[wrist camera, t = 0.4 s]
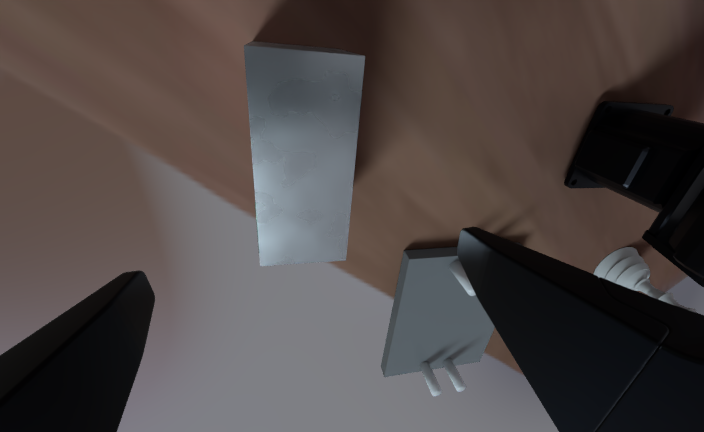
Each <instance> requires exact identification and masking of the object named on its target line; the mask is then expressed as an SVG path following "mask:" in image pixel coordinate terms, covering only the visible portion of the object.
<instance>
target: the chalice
mask: <svg viewBox="0 0 704 432" xmlns="http://www.w3.org/2000/svg"><path fill="white" fill-rule="evenodd" d="M594 275H596V276H598V278H599V277H601V278H604V279H606V280H609V281H611V282H614V283H616V284H619V285H621V286H624V287H627V288H629V289H632V290H635V291H639V290H640V291H642V292H644V293H646V294H648V295H649V296H650V297H653V298H656V299H659V300H661V301H664V302H667V303H670V304H672V305H675V306H678V307H681V308H684V309H687V310H690V311H692V312H695V313H696V311H695V309H691V308H686V307H684V306H682V305H679V304H678V303H677V302H676V300H675V299H674V297H673V294H672V293H664V292H662V291H660V290H658V289H656V288H654V287H653V286H652V285H651V284H650V283H649V282H650V280H649V279H648V278H649V276H650V270H649V267H648V265H647V264H645V262H644V260H643V258H642V257H640V256H639V254H638V252H637V250H636V249H635V248H633V247H625V248H621V249H619V250H617V251H614V252H613V253H611V254H610V255H608V256H607V257H606V258H605V259H604V260H603V261H601V262H600V264H599V265H598V266H597V268H596V270H595V272H594Z"/></svg>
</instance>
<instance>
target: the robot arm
mask: <svg viewBox="0 0 704 432" xmlns="http://www.w3.org/2000/svg"><path fill="white" fill-rule="evenodd" d="M673 109H674V108H673V106H671V105H666V104H650V103H632V102H614V101H604V102H602V103H601V104H600V105H599V106H598V108H597V110H596V112H595V115H594V117H593V119H592V121H591V124H590V126H589V128H588V130H587V132H586V135H585V137H584V139H583V141H582V143H581V146H580V148H579V150H578V152H577V155H576V157H575V159H574V161H573V163H572V166H571V168H570V170H569V172H568V175H567V177H566V179H565V182H564V185H565V186H567V187H569V188H608V189H610V190H612V191H614V192H616V193H619V194H621V195H623V196H625V197H627V198H629V199H631V200H634V201H636V202H638V203H640V204H642V205H644V206H646V207H648V208H651V209H653V210H655V211H657V212H659V214H658V216H657V218H656V219H655V221H654V222H653V224H652V225H651V227H650V228H649V230H646V231H645V233H644V234H643V236H642V238H643V239H644V240H645V241H647V242H648V243H649V244H650V245H652V247H653V248H654V249H656V250H657V251H658V252H659V253H661V254H662V255H663V256H664V257H666V258H667V259H668V260H669V261H671V262H672V263H673V264H674V265H676V266H677V267H678V268H679V269H681V270H682V271H683V272H684V273H686V274H687V275H688V276H689V277H691V278H692V279H693V280H694V281H695V282H697V283H698V284H699V285H701V286H702V287H704V123H700V122H695V121H690V120H686V119H681V118H676V117H672V116H671V114H672V112H673ZM457 256H458V259H459V261H460V263H461V265H462V267H463V269H464V271H465V273H466V275H467V278H468V280H469V282H470V284H471V286H472V288H473V290H474V292H475V294H476V296H477V298H478V300H479V302H480V303H481V305H482V307H483V308H484V310H485V312H486V313H487V315H488V317H489V318H490V320H491V321H492V323H493V325H494V326H495V328H496V330H497V331H498V333H499V334H500V336H501V338H502V339H503V341H504V343H505V344H506V346H507V348H508V349H509V351H510V352H511V354H512V356H513V357H514V359H515V361H516V362H517V364H518V365H519V367H520V369H521V370H522V372H523V374H524V375H525V377H526V379H527V380H528V382H529V383H530V385H531V387H532V388H533V390H534V391H535V393H536V395H537V396H538V398H539V400H540V401H541V403H542V405H543V406H544V408H545V409H546V411H547V413H548V414H549V416H550V418H551V419H552V421H553V423H554V424H555V426H556V427H557V429H558V431H559V432H704V315H701V314H698V313H695V312H692V311H690V310H687V309H684V308H681V307H678V306H675V305H672V304H670V303H667V302H664V301H661V300H659V299H656V298H653V297H650V296H648V295H645V294H642V293H639V292H637V291H634V290H632V289H629V288H627V287H624V286H621V285H619V284H616V283H614V282H611V281H609V280H606V279H604V278H601V277H599V278H598V276H596V275H594V274H591V273H589V272H586V271H584V270H581V269H579V268H576V267H574V266H571V265H569V264H566V263H564V262H561V261H559V260H557V259H554V258H552V257H549V256H547V255H544V254H542V253H539V252H537V251H534V250H532V249H529V248H527V247H524V246H522V245H519V244H517V243H514V242H512V241H509V240H507V239H504V238H502V237H499V236H497V235H494V234H492V233H490V232H487V231H485V230H482V229H480V228H477V227H469V228H463V229H462V230H461V232H460V237H459V242H458V247H457ZM154 302H155V295H154V292H153V290H152V288H151V285H150V283H149V281H148V279H147V277H146V275H145V273H144V272H143V271H131V272H126V273H122V274H121V275H119V276H118V277H117V278H115V279H113V280H112V281H110V282H109V283H108V284H106V285H105V286H103V287H102V288H100V289H99V290H97V291H96V292H94V293H93V294H91V295H90V296H88V297H87V298H85V299H84V300H82V301H81V302H79V303H78V304H76V305H75V306H73V307H72V308H70V309H69V310H68V311H66V312H64V313H63V314H61V315H60V316H58V317H57V318H55V319H54V320H52V321H51V322H49V323H48V324H46V325H45V326H43V327H42V328H41V329H39V330H37V331H36V332H35V333H33V334H32V335H30V336H29V337H27V338H26V339H24V340H23V341H21V342H20V343H18V344H17V345H15V346H14V347H12V348H11V349H9V350H8V351H6V352H5V353H3V354H2V355H0V432H117V429H118V426H119V424H120V421H121V418H122V415H123V412H124V409H125V406H126V403H127V400H128V397H129V395H130V392H131V388H132V386H133V383H134V380H135V377H136V374H137V371H138V368H139V366H140V362H141V359H142V356H143V352H144V348H145V344H146V339H147V335H148V330H149V326H150V321H151V317H152V312H153V307H154Z"/></svg>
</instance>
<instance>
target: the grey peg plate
mask: <svg viewBox="0 0 704 432" xmlns="http://www.w3.org/2000/svg"><path fill="white" fill-rule="evenodd" d="M517 244H519V245H521V244H520V243H517ZM522 246H523V245H522ZM494 328H495V326H494V325H493V323H492V321H491V320H490V318H489V317H488V315H487V313H486V312H485V310H484V308H483V307H482V305H481V303H480V302H479V300H478V298H477V296H476V294H475V292H474V290H473V288H472V286H471V284H470V282H469V280H468V278H467V275H466V273H465V271H464V269H463V267H462V265H461V263H460V261H459V259H458V256H457V247H448V248H433V249H418V250H404V253H403V258H402V263H401V268H400V273H399V278H398V283H397V288H396V293H395V298H394V303H393V308H392V314H391V319H390V323H389V328H388V333H387V338H386V344H385V348H384V353H383V358H382V363H381V368H382V371H383V375H384V377H388V376H394V375H400V374H406V373H412V372H418V371H422V373H423V375H424V377H425V380H426V382H427V384H428V387H429V389H430V391H431V393H432V395H433V396H438V395H440V394H441V393H442V391H441V388H440V386H439V384H438V382H437V380H436V377H435V376H434V373H433V371H432V369H437V368H443V367H445V369H446V370H447V373H448V375H449V377H450V378H451V380H452V382H453V384H454V386H455V388H456V390H457V391H458V392H461V391H463V390H465V389H466V385H465V383H464V382H463V380H462V378H461V376H460V374H459V372H458V371H457V369H456V367H455V365H462V364H467V363H474V362H480V359H481V357H482V354H483V353H484V350H485V348H486V346H487V344H488V341H489V339H490V337H491V334H492V332H493V330H494Z"/></svg>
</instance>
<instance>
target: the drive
mask: <svg viewBox="0 0 704 432" xmlns="http://www.w3.org/2000/svg"><path fill="white" fill-rule="evenodd" d="M244 53H245V67H246V80H247V94H248V107H249V121H250V134H251V148H252V161H253V175H254V188H255V207H256V221H257V233H258V247H259V255H260V266H270V265H283V264H284V265H285V264H299V263H314V262H329V261H344V260H346V253H347V243H348V232H349V222H350V211H351V201H352V190H353V180H354V169H355V159H356V148H357V138H358V127H359V117H360V106H361V96H362V85H363V75H364V64H365V56H364V55H360V54H356V53H352V52H348V51H345V50H341V49H335V48H323V47H312V46H301V45H290V44H279V43H268V42H257V41H252V42H250V43H248V44H246V45H244Z"/></svg>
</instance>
